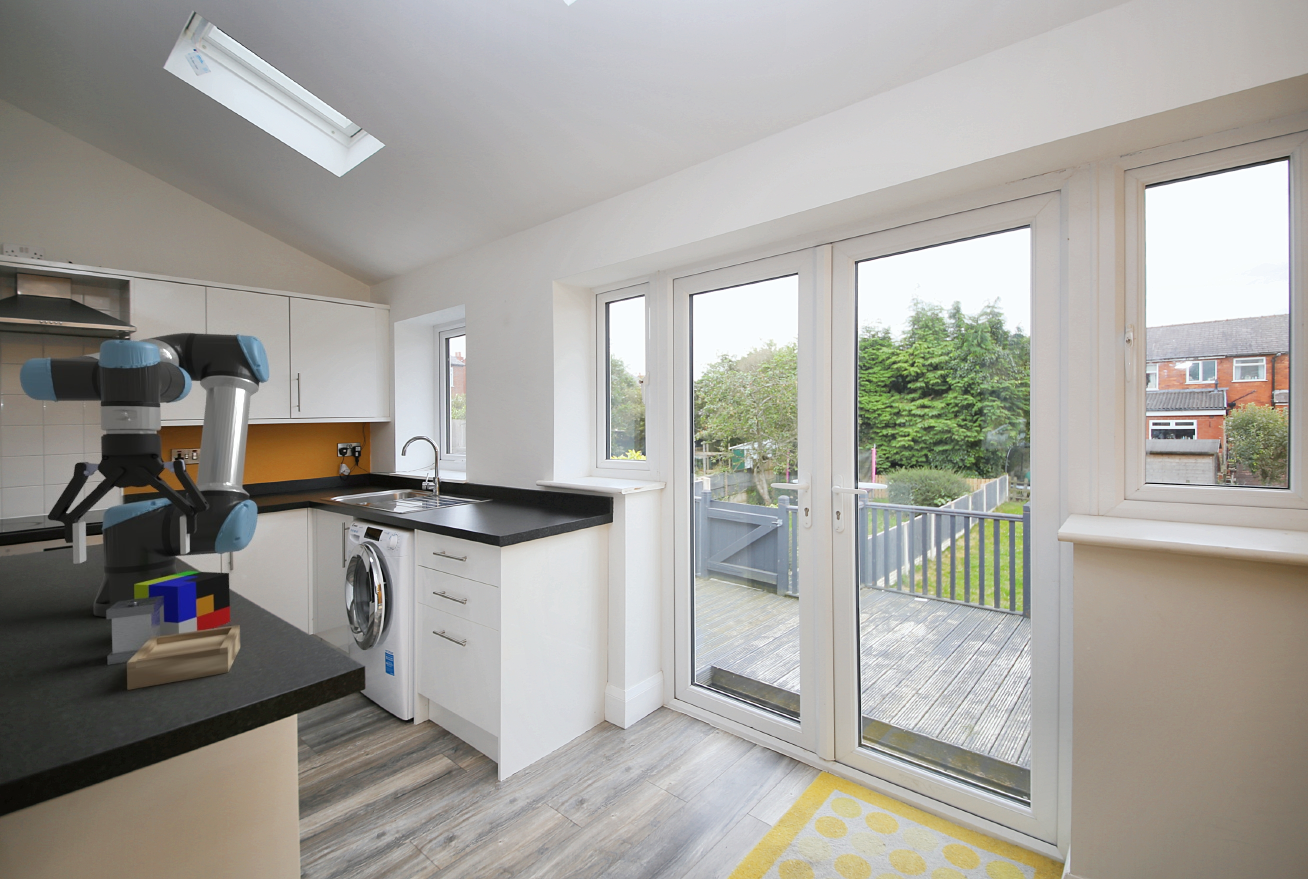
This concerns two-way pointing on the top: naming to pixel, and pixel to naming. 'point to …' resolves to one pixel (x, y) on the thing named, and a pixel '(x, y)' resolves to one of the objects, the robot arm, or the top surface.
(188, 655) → the tray
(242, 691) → the top surface
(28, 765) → the top surface
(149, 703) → the top surface
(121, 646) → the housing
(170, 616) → the puzzle toy
